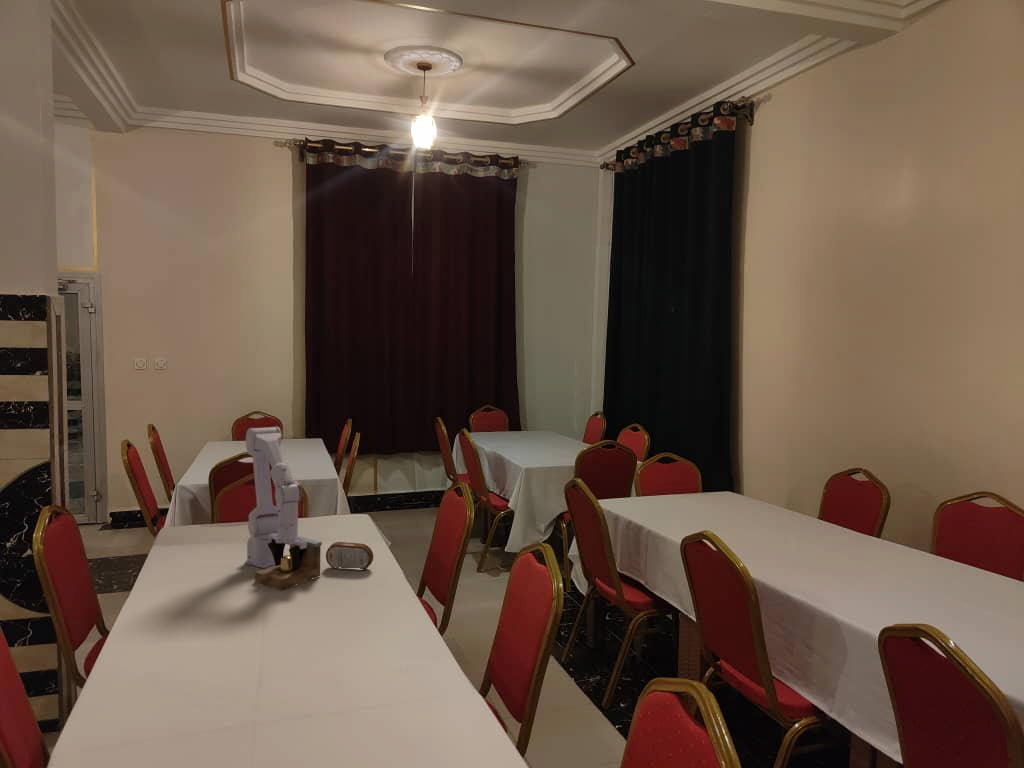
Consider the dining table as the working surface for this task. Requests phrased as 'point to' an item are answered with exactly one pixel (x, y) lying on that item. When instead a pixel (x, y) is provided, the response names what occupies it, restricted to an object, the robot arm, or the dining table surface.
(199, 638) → the dining table surface
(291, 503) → the robot arm
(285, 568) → the peg
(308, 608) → the dining table surface
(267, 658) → the dining table surface
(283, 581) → the socket block
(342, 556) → the tin
